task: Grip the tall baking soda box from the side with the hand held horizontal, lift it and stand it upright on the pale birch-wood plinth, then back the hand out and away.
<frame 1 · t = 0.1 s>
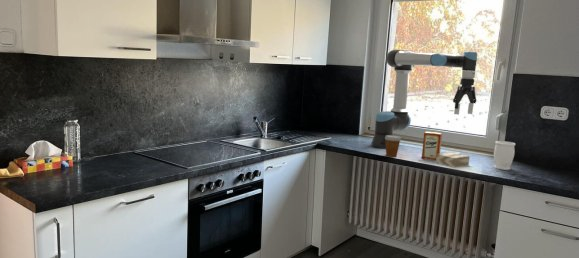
hand: (463, 114, 268), 28 cm above the worktop, tool pointing down, fingers open, 13 cm apart
plinth: (452, 163, 260), on the worktop
jar: (502, 168, 254), on the worktop
baking soda box: (430, 158, 272), on the worktop
disposable coffee cup: (391, 156, 274), on the worktop
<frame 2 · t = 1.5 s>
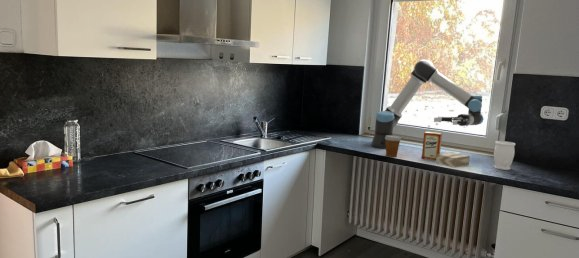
hand: (443, 121, 274), 22 cm above the worktop, tool horizontal, fingers open, 13 cm apart
nothing on the worktop moved.
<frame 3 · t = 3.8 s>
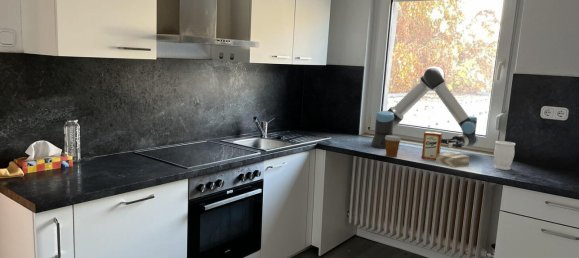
hand: (438, 143, 274), 9 cm above the worktop, tool horizontal, fingers open, 13 cm apart
nothing on the worktop moved.
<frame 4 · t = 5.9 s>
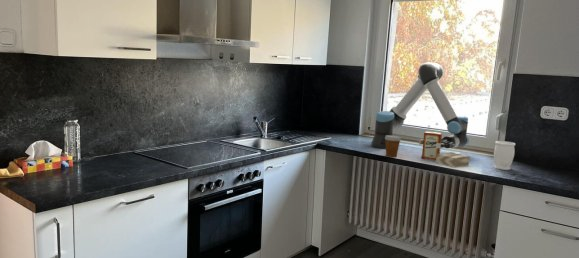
hand: (428, 144, 268), 9 cm above the worktop, tool horizontal, fingers closed on baking soda box, 11 cm apart
baking soda box: (430, 158, 272), on the worktop, touching gripper
everything else where it was.
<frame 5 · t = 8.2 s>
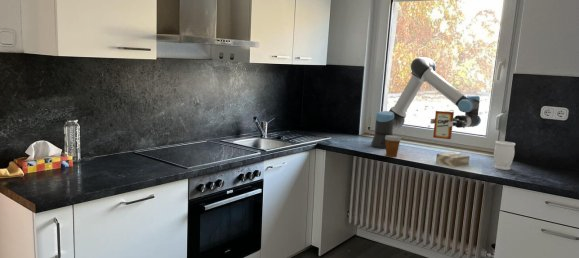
hand: (439, 122, 262), 23 cm above the worktop, tool horizontal, fingers closed on baking soda box, 11 cm apart
baking soda box: (442, 137, 265), point 14 cm above the worktop, touching gripper
everything else where it was.
when the fingers open (15 cm above the worktop, at t = 10.9 s): baking soda box drops 1 cm, resting on plinth.
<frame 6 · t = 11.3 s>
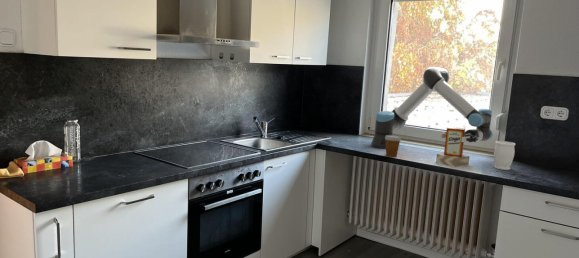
hand: (451, 137, 256), 15 cm above the worktop, tool horizontal, fingers open, 13 cm apart
baking soda box: (453, 155, 259), point 5 cm above the worktop, touching plinth
everything else where it was.
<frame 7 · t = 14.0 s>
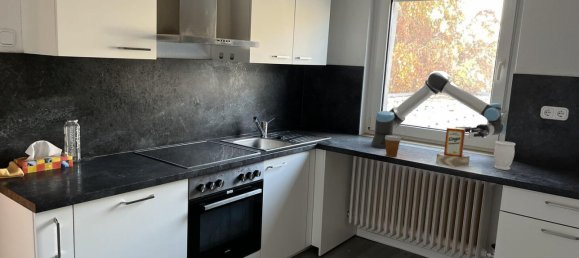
hand: (459, 133, 265), 17 cm above the worktop, tool horizontal, fingers open, 13 cm apart
nothing on the worktop moved.
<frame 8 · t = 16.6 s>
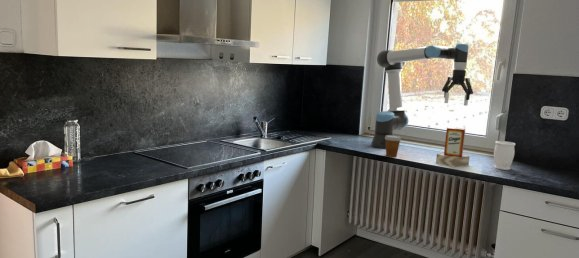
hand: (455, 104, 277), 33 cm above the worktop, tool pointing down, fingers open, 13 cm apart
nothing on the worktop moved.
at the end: baking soda box inside the target area on the plinth (0.1 cm from its centre), point 4.8 cm above the plinth's base; baking soda box tilted 0°; baking soda box touching plinth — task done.
